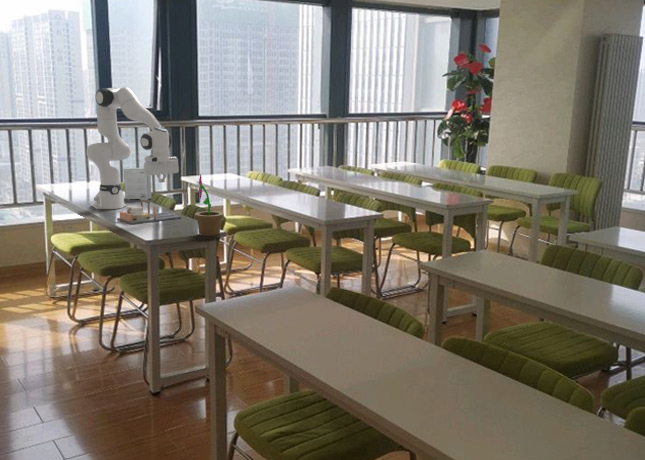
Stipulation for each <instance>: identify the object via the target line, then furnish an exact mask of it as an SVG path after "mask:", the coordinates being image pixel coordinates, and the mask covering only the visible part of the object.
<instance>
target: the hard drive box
mask: <svg viewBox="0 0 645 460" xmlns="http://www.w3.org/2000/svg"><path fill="white" fill-rule="evenodd" d="M151 176H152V175H148V176H147V175H145V174H144V167H126V168H124V169H123V179H124V180H123V181H124V200H130V199H145V200H150V199H152V179H151Z"/></svg>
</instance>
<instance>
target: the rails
mask: <svg viewBox="0 0 645 460" xmlns="http://www.w3.org/2000/svg"><path fill="white" fill-rule="evenodd" d="M169 213H170V212H169V211H165V212H156V215H159V216H156V218H160V217H168V216H175V215H176V213H170V214H169ZM150 214H151V217H150V218H154V213H150ZM163 214H167V215H163ZM150 218H149V219H150ZM142 219H148V218H147V217H144V218H137V219H136V220H142ZM133 221H134V220H133Z"/></svg>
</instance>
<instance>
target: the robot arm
mask: <svg viewBox="0 0 645 460" xmlns="http://www.w3.org/2000/svg"><path fill="white" fill-rule="evenodd" d="M95 102H96V103H97V110H96V111H97V112H96V119H97V131H98V133H99V134H100V135H101V136H103V137H105V138H106V139H107V141H108V142H95V143H91V144H89V145H88V146H87V148H86V156H87V158H88V159H89V160H90V161H91V162H93V164H95V166H96V167H97V169H98V171H99V176H100V177H99V178H100V184H99V191H98V192H97V194H96V195H95V196H94V197H93V201H94V202H93V203H91V204H90V205H91V207H92V208H94V209H96V210H117V209H123V208H124V207H127V204H126V203H125V196H124V193H123V191H122V185H121V178H120V171H119V169H118V168H116V167H114V166H112V165H111V164H110V163H111V162H112V161H113V162H114V161H115V162H116V161H123V160H127V159H129V158H130V155H131V152H132V151H131V148H130V146H129V143H127V142H125V141H124V139H122V137H121V135H120V133H119V130H118V129H119V128H118V119H117V109H118V108H119V109H120V110H121V111H122V113H123V115H124V116H125V117H126V119H128V120H131V121H135V122H140V123H142V124H145V125H146V126H148V127H149V129H150V130H151V131H149V132H146V133H143V134H142V135H141V136H140V145H141V148H143V149H144V150H146V151H152V153H151V154H149V155H147V156H145V157H144V161H145V162H144V163H143V168H144V174H145V175H147V176H148V175H151V176H156V178H157V179H158V183H159V184H161V183H166V182H165V181H166V178H167V177H168V176H167V175H171V174H173V175H174V174H178V173H179V172H180V171H179V170H180V168H179V159H178V157H177V156H170V147H171V146H172V143H173V138H172V136H171V134H170V133H169V131H168V129H166V128H164V127H163V125H161V123H160V122H159V120H158V119H157V118H156V117H155V115H154V114H153V113H152V112H151V111H149V110H148V109H147V108H146V107H145V106H144V105H143V104H142V103H141V102H140V100H139V98H138V96H137V95H136V94H135V92H134V91H133V90H132V89H131V88H129V87H128V86H127V87H125V86H124V87H108V88H107V87H104V88H99V89H98V90H97V91H96V92H95ZM161 176H162V178H161Z"/></svg>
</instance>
